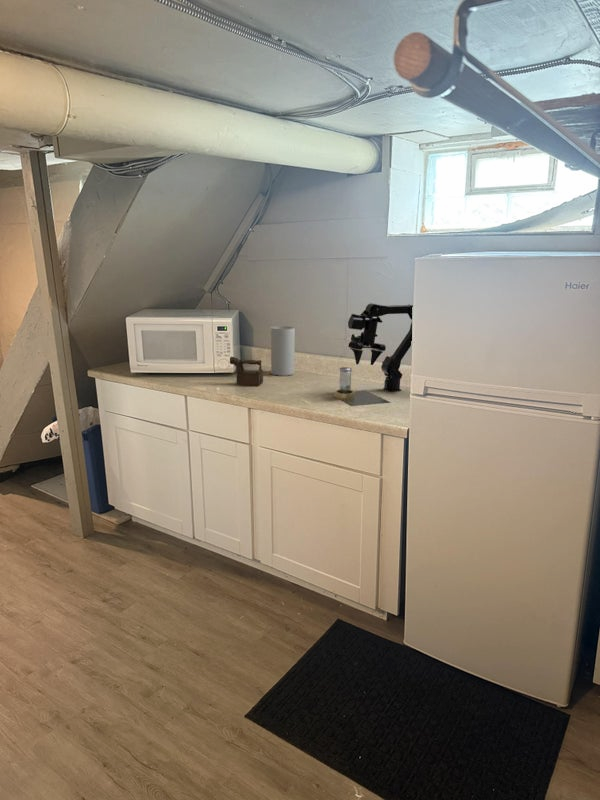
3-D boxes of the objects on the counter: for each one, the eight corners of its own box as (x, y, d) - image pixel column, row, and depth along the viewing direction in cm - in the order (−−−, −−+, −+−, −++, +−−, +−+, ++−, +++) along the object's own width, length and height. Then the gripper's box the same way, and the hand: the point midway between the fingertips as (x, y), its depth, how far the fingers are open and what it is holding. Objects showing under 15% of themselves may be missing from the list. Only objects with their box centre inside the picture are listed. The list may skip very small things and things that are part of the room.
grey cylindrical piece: (349, 395, 249) (350, 367, 246) (351, 398, 244) (352, 369, 241) (338, 395, 249) (339, 367, 246) (339, 398, 244) (340, 369, 241)
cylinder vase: (297, 372, 302) (298, 327, 296) (288, 377, 291) (288, 329, 285) (277, 370, 307) (277, 325, 301) (267, 375, 296) (267, 328, 290)
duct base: (365, 392, 260) (366, 385, 259) (390, 404, 238) (391, 396, 237) (327, 395, 253) (328, 388, 253) (350, 408, 232) (350, 400, 231)
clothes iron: (234, 381, 280) (233, 355, 277) (264, 383, 277) (264, 356, 273) (228, 384, 273) (228, 357, 269) (259, 386, 269) (259, 359, 266)
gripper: (372, 330, 266) (367, 362, 269) (343, 327, 255) (338, 360, 258) (388, 333, 257) (383, 366, 260) (359, 330, 246) (353, 365, 249)
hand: (364, 364), depth 257 cm, fingers open, 9 cm apart
